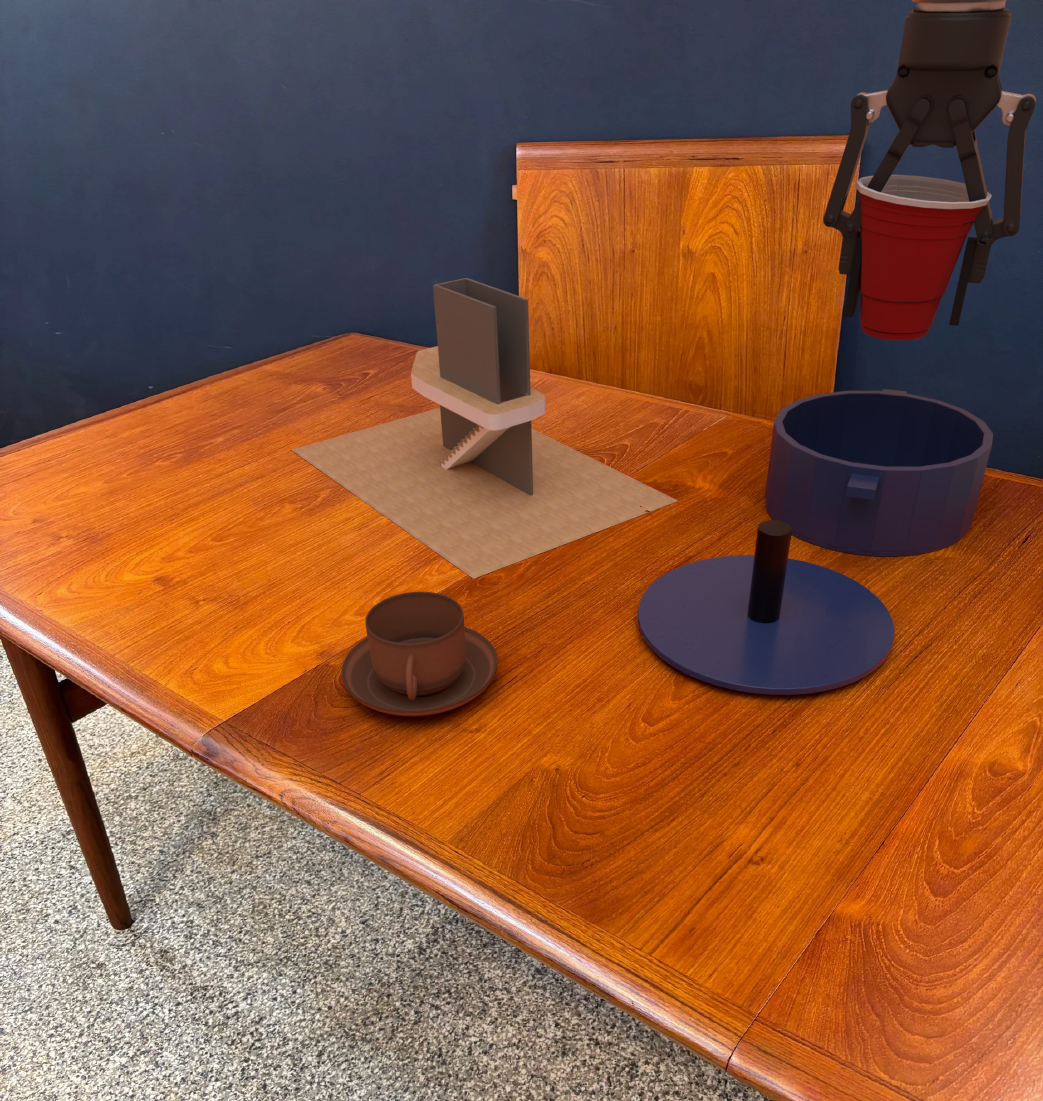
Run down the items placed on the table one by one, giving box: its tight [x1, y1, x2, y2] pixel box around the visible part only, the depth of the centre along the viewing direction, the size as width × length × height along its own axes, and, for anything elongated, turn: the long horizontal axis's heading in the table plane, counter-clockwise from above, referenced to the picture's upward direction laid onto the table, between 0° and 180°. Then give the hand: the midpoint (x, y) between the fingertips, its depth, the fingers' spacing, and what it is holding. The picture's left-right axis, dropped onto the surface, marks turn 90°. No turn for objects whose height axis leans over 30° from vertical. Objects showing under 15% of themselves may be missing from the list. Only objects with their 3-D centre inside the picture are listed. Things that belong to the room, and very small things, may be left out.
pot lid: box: [637, 519, 895, 696], centre depth 81 cm, size 21×21×9 cm
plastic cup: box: [855, 174, 993, 341], centre depth 86 cm, size 11×11×12 cm
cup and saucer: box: [341, 591, 499, 717], centre depth 77 cm, size 12×12×6 cm
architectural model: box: [290, 277, 678, 580], centre depth 104 cm, size 38×25×20 cm, turn 36°
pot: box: [764, 388, 994, 557], centre depth 98 cm, size 20×25×8 cm
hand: (901, 316), depth 89 cm, fingers closed on plastic cup, 8 cm apart
